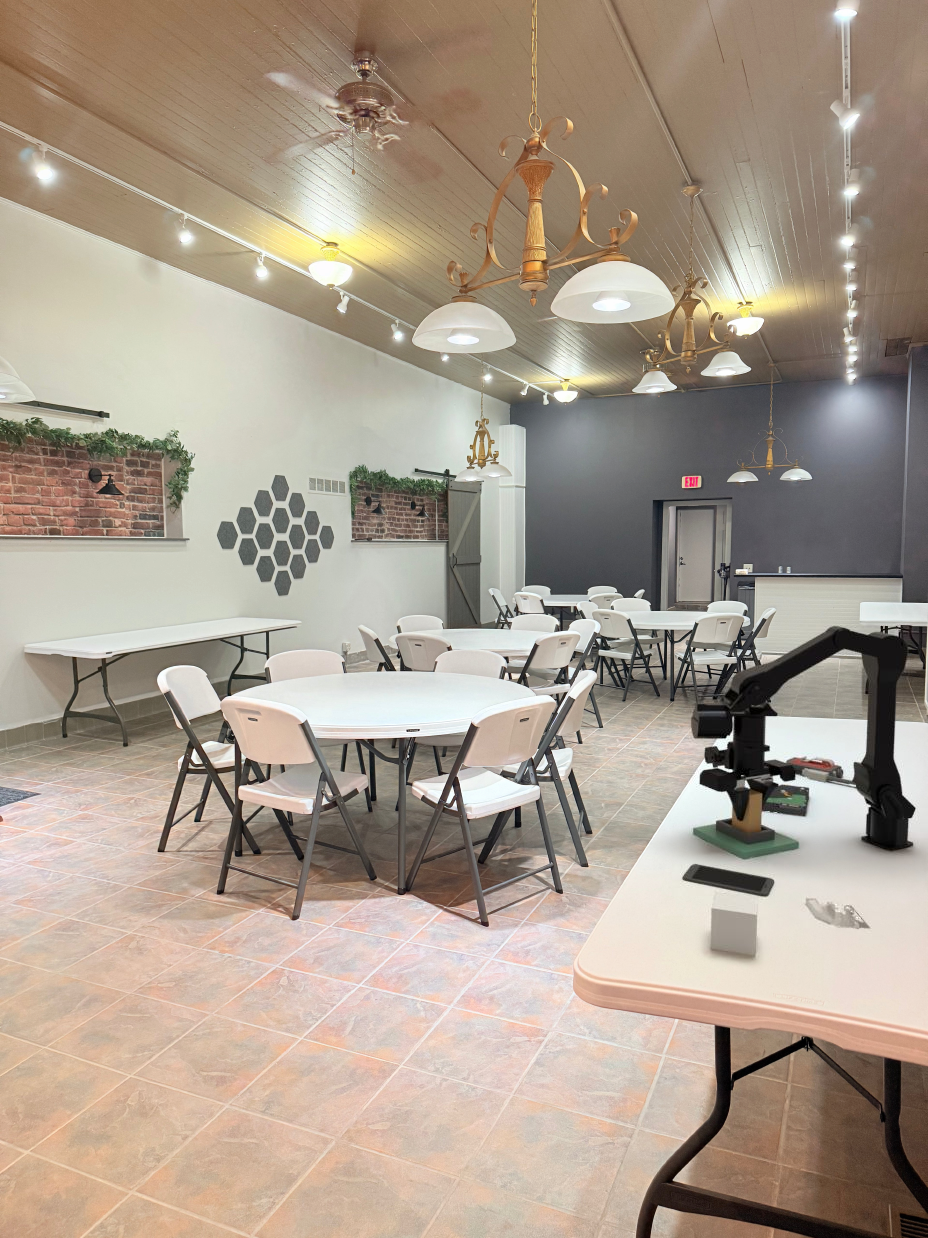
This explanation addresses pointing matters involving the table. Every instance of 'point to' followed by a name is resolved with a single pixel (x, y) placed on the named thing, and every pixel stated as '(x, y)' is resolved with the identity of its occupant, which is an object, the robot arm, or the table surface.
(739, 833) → the board
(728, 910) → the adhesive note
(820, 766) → the red and grey actuator
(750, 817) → the plug
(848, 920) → the stamped metal plate
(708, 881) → the cell phone
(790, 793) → the disk drive
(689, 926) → the table surface
